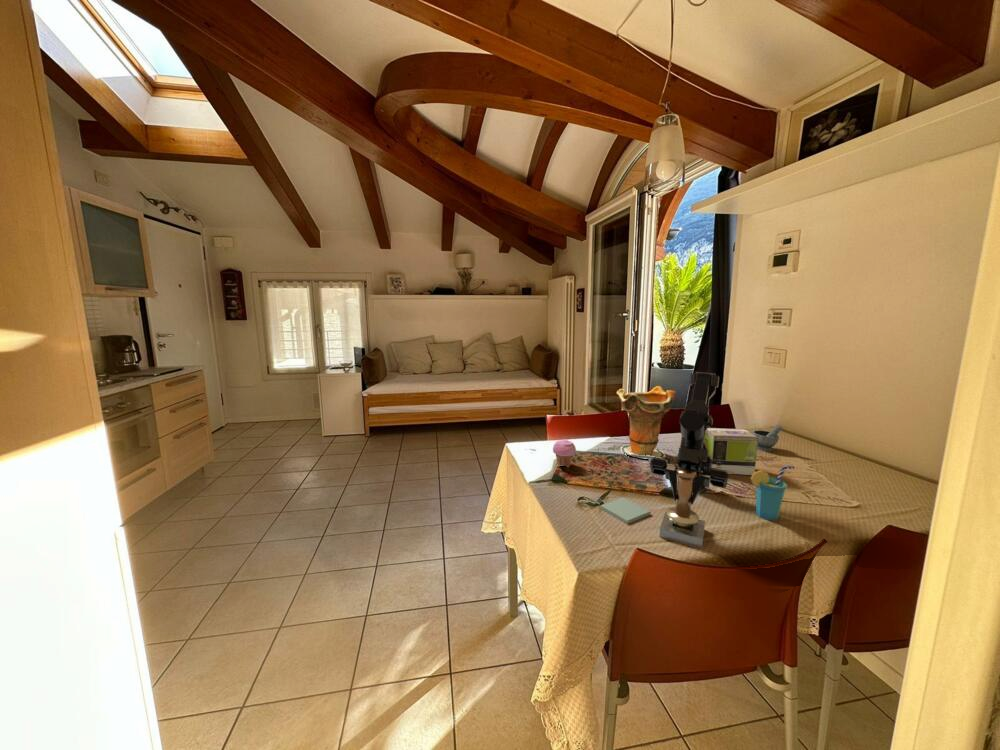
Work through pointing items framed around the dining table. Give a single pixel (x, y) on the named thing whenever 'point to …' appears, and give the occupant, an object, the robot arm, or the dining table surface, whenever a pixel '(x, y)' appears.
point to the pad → (625, 510)
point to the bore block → (683, 532)
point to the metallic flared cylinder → (683, 501)
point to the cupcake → (564, 452)
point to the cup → (769, 493)
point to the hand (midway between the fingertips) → (683, 502)
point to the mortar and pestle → (767, 438)
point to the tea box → (732, 450)
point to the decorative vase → (645, 419)
